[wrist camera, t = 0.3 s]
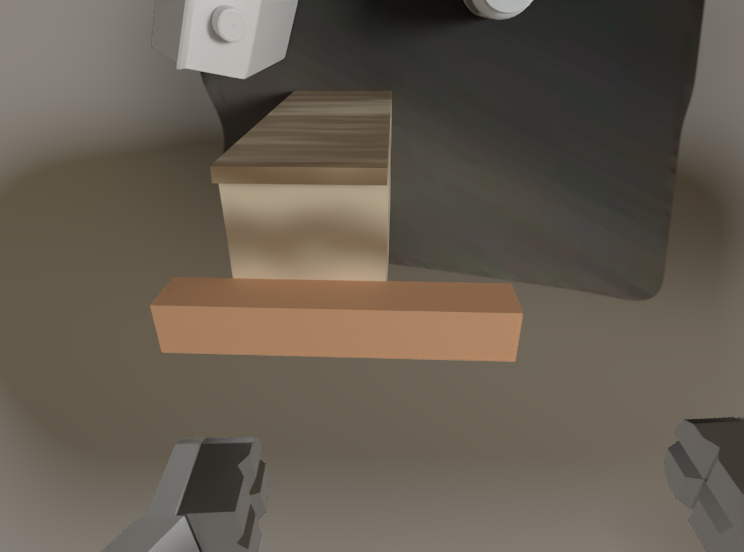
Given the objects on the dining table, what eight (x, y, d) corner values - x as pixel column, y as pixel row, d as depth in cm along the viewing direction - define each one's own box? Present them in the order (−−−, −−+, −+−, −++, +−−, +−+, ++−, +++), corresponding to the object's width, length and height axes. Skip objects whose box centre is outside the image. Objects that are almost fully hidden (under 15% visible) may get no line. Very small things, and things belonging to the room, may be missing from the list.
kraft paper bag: (294, 90, 52) (209, 166, 28) (391, 90, 52) (387, 168, 28) (303, 209, 58) (239, 352, 35) (389, 210, 58) (384, 355, 34)
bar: (172, 277, 33) (149, 305, 30) (511, 283, 32) (523, 313, 29) (182, 321, 35) (161, 352, 32) (504, 328, 34) (515, 361, 31)
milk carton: (215, 33, 50) (124, 51, 33) (228, -48, 46) (134, -74, 30) (285, 58, 51) (230, 87, 34) (302, -20, 47) (251, -30, 31)
